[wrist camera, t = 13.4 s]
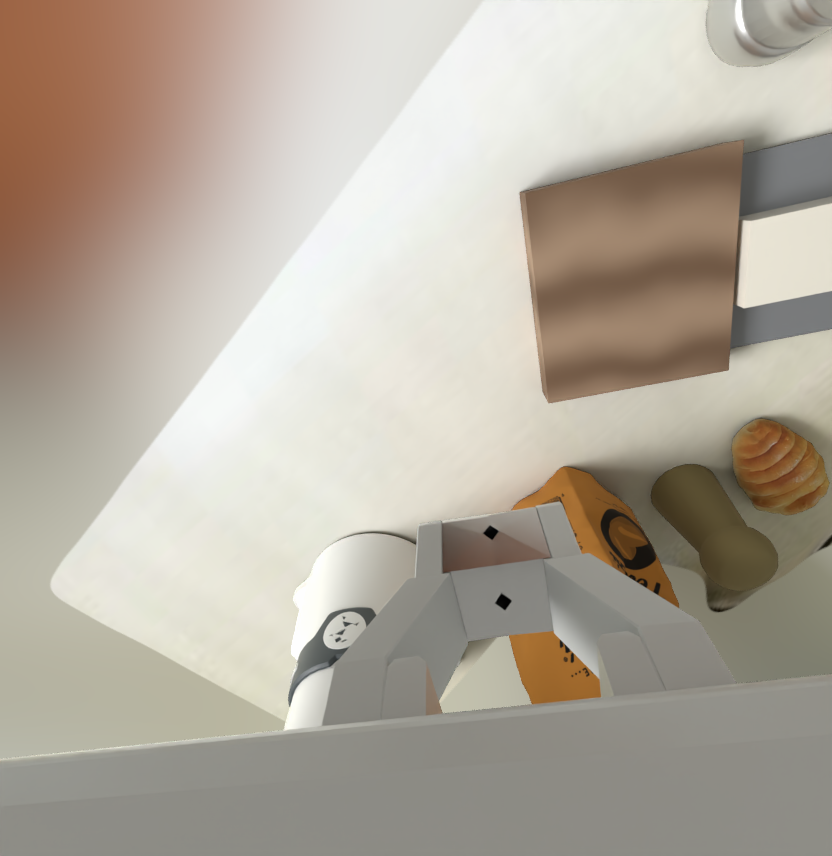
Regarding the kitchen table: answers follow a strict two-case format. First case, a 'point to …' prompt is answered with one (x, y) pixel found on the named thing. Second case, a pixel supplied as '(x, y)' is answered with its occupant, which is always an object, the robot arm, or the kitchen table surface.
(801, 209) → the tile
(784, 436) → the pastry
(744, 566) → the cork
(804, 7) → the plastic bottle
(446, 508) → the kitchen table surface
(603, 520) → the coffee package
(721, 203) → the stand
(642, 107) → the kitchen table surface
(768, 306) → the mat
